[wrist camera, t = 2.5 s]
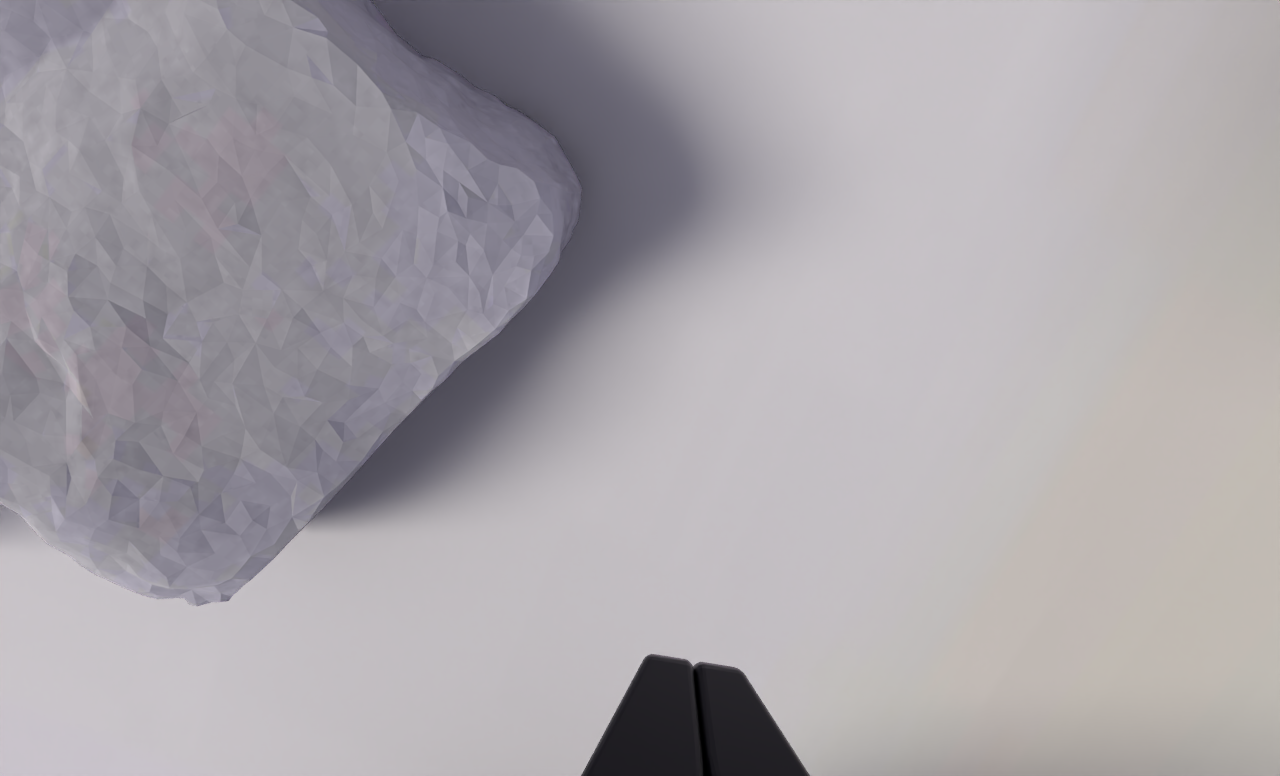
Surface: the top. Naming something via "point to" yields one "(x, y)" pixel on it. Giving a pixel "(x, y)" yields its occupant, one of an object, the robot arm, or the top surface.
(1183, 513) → the top surface
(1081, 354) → the top surface
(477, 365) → the top surface
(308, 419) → the stone block
